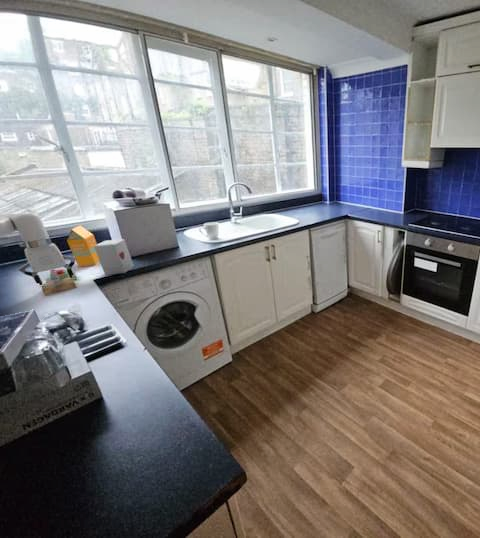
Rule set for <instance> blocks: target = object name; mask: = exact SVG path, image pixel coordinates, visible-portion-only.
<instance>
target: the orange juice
mask: <svg viewBox="0 0 480 538" xmlns="http://www.w3.org/2000/svg"><path fill="white" fill-rule="evenodd" d="M66 241H67V244H68V246H69V248H70V251H71V253H72V255H73V256H72V257H75V258H76V259H75V263H76V264H77V267H78V268H82V267H83V268H84V267H89V266H90V267H91V266H97V265H98V264H99V263H100V261H99V258H98V256H97V253H96V251H95V248H94V246H95V245H97V244H98V242H97V240H96V238H95V235H94V234H93V233H92V232H91V231H89V230H87V229H86V228H85V227H83V226H82V225H81V224H80V225H78V226H75V227H73V228H71V229H70V231H69V234H68V237H67V239H66Z"/></svg>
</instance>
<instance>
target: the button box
mask: <svg viewBox="0 0 480 538" xmlns="http://www.w3.org/2000/svg"><path fill="white" fill-rule="evenodd" d="M63 271H64V274H61V275H58V277H59V279H60V280H61V279H65V278H69V277H70V276H69V274H68V272H67V270H63ZM72 272H73V274H74V275H72V277H73V279H74V278H75V279H74V281H75V282H76V281H78V275H77V273H76V272H75V271H72ZM52 281H53V280H52V278H51V276H50V275H49V277H47V278H45V283H48V282H52Z"/></svg>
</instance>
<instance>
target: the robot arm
mask: <svg viewBox="0 0 480 538" xmlns="http://www.w3.org/2000/svg"><path fill="white" fill-rule="evenodd" d="M16 232H18V233H19V236H20V238H21V240H22V242H19V243H18V246H19V247H20V248H21V247H24V255H25V257H26V260H27V263H25V264H23V265H21V267H18V271H19V272H21V273H23V274H24V275H26V276H29V277H31V278H33V280H34V282H35V283H36V284H39V286H42V284H43V281H42V279H41V277H40V275H39V273H42V272H47V271H50V270H54V269H55V270H57V269H59V268H65V269H66V271H67V272H68V274H69V276H70V278H73V277H72V275H74V274H73V272H74V271H73V270H72V268H73V267H74V265H75V263H76V260H75V259H76V258H75V257H74V256H69V255H63V254H62V252H61V250H60V249H59V247H58V246H57V245H56V243H53V242H52V239H51V238H50V235H49V233H48V232H47V229H46V227H45V225H44V223H43V220H42V219H41V217H40V215H39V214H38V213H37V212H31V211H30V212H22V213H0V238H3V237H5V236H8V235H10V234H13V233H16ZM66 260H69V261H70V262H69V263H66ZM28 268H31V271H29V270H27V269H28Z"/></svg>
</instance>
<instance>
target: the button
mask: <svg viewBox="0 0 480 538" xmlns="http://www.w3.org/2000/svg"><path fill="white" fill-rule="evenodd" d="M55 270H56V272H57V274H58V275H61V274H64V271H65V270H63V269H55Z"/></svg>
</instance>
